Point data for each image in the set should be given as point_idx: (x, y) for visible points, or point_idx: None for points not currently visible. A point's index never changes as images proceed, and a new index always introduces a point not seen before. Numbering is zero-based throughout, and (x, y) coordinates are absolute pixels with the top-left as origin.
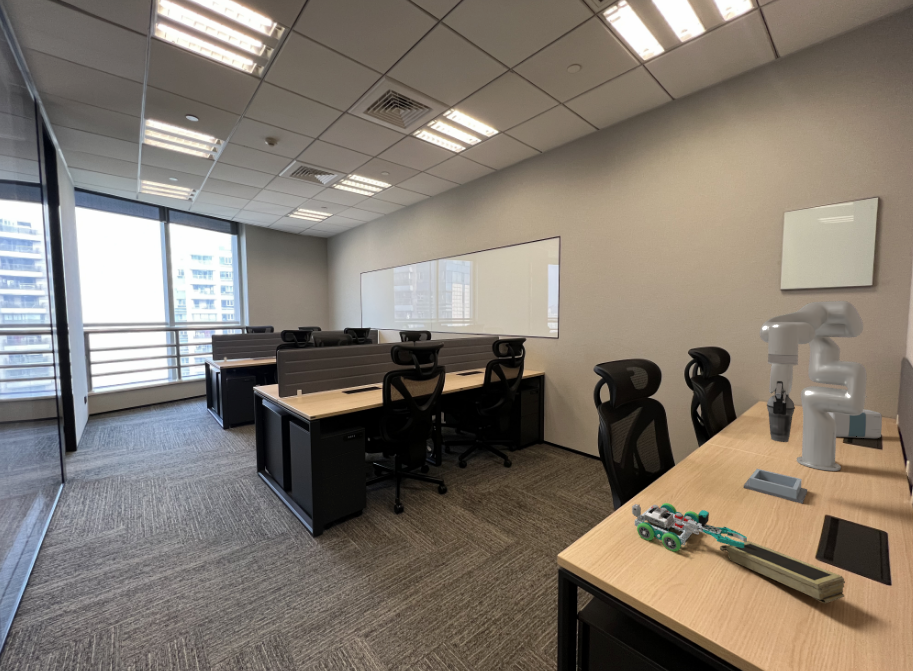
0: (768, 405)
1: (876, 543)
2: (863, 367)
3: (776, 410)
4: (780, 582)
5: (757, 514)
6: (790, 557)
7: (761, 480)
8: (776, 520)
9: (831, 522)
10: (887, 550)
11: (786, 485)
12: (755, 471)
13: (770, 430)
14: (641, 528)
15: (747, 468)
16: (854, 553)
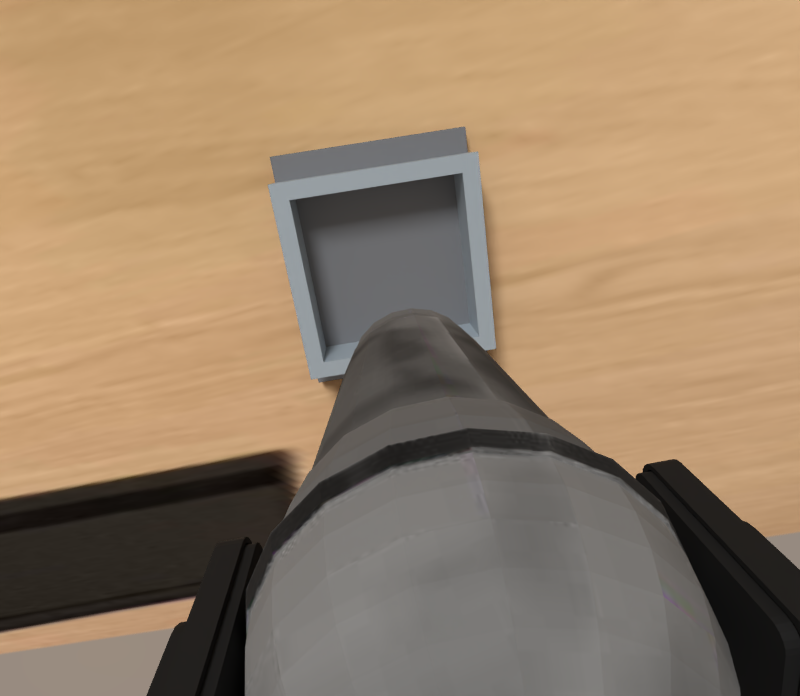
0: (306, 515)
1: (187, 578)
2: None
3: (173, 636)
4: None
5: (14, 310)
6: None
7: (287, 240)
8: (37, 371)
9: (227, 478)
10: (165, 601)
11: (458, 287)
12: (414, 166)
13: (374, 340)
14: None
15: (617, 50)
16: (43, 565)
